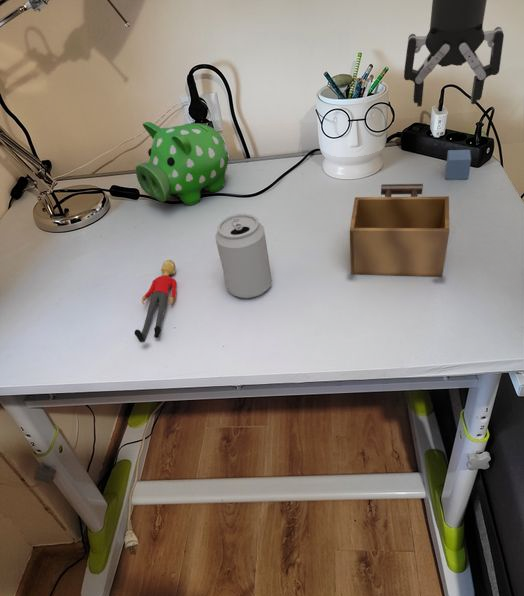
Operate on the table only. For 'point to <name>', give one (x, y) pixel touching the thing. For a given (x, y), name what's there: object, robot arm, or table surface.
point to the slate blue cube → (458, 164)
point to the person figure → (158, 299)
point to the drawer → (399, 233)
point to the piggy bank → (183, 162)
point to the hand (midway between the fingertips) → (446, 103)
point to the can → (244, 255)
